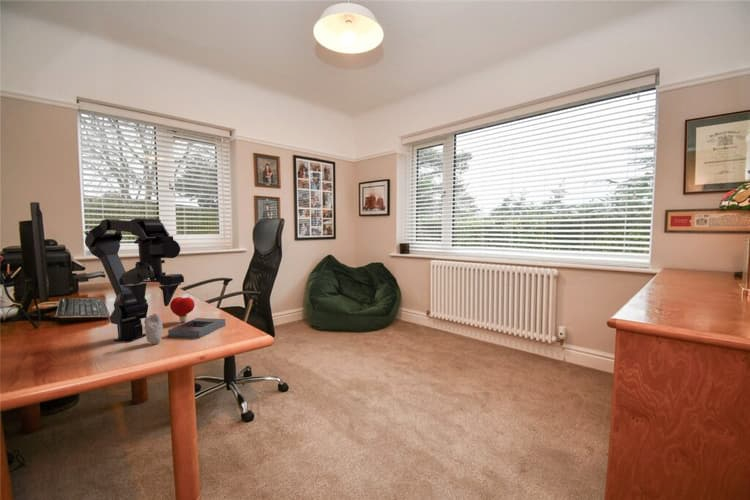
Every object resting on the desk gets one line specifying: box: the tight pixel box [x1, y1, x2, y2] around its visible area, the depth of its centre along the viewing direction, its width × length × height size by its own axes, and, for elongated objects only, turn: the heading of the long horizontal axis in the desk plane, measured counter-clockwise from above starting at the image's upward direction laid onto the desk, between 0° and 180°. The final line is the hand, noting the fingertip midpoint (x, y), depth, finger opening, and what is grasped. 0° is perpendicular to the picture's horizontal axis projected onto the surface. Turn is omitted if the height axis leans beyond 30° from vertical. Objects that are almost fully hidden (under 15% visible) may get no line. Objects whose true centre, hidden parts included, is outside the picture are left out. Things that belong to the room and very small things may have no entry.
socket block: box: [167, 317, 226, 339], centre depth 114 cm, size 12×14×2 cm
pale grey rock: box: [143, 312, 164, 345], centre depth 102 cm, size 6×4×10 cm, turn 172°
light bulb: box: [169, 296, 196, 324], centre depth 124 cm, size 9×7×10 cm
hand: (153, 305), depth 101 cm, fingers open, 9 cm apart
